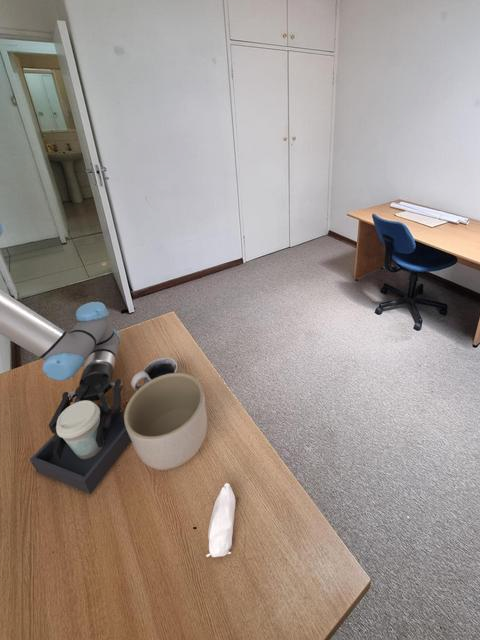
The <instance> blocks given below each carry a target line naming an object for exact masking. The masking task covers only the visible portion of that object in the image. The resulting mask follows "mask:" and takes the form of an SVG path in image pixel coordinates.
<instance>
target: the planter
mask: <svg viewBox="0 0 480 640" xmlns="http://www.w3.org/2000/svg"><path fill="white" fill-rule="evenodd" d="M142 385H143V384H142ZM206 405H207V404H206V398H205V392H204V388H203V385H202V383H201V382H200V380H198V378H196V377H195V376H193V375H191V374H188V373H184V372H178V373H170V374H165V375H162V376H159V377H157V378H155V379H153V380H151V381H149V382H147V383H146V384H145V385H143V386H142V387H141V388H140V389H138V390H137V391H136V390H135V392H134V393H133V395H132V396H131V397H130V399H129V400H128V402H127V404H126V406H125V409H124V423H125V426H126V429H127V432H128V434H129V436H130V439H131V443H132V445H133V448H134V450H135V452H136V454H137V456H138V457H139V459H140V460H141V462H142V463H144V464H145V465H146V466H147V467H149V468H151V469H153V470H158V471H166V470H167V471H169V470H173V469H176V468H178V467H181V466H183V465H184V464H187V462H189V461H190V460H191V459H193V457H194V456H195V455H196V454H197V453H198V452H199V450H200V449H201V447H202V446H203V443H204V442H205V439H206V435H207V432H208V411H207V406H206Z"/></svg>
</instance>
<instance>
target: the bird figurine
mask: <svg viewBox="0 0 480 640" xmlns="http://www.w3.org/2000/svg"><path fill="white" fill-rule="evenodd" d="M236 502H237V501H236V496H235V494H234V491H233V489H232V487H231V484H230V483H228V482H226V483H225V484H224V485H223V486H222V487H221V489H220V491H219V494H218V495H217V497H216V500H215V501H214V506H213V508H212V513H211V515H210V520H209V524H208V532H207V539H208V553H207V554H206V555H205V558H208V557H210V556H211V557H212V558H219V557H225V556H226V555H231V554H232V552H231V551H230V549H231V548H232V545H233V535H234V523H235V511H236Z"/></svg>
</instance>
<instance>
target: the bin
mask: <svg viewBox="0 0 480 640" xmlns="http://www.w3.org/2000/svg"><path fill="white" fill-rule="evenodd" d="M94 403H95V402H94ZM95 404H96V405H97V406H98V407H99V409H100V415H99V416H100V417H101V415H103V414H105V412H104V409H103V407H102V404H99V403H95ZM109 408H110V410H111V409H112V408H111V407H109ZM124 413H125V411H121V414H120V415H119V416H114V417H113V418H112V421H111V426H110V429H109V430H108V431H105V436H104V445H103V447H102V449H101V450H100V451H99V452H98V453H97V454H96V455H95V456H93V457H91V458H88V459H80V458H79V457H78V456H77V455H76V454H75V453H74V451H73V450H72V449H71V448H70V446H69V445H68V444H67V443H65V446H64V449H63V453H62V456H61V459H59V460H56V458H55V456H54V455H53V450H54V447H55V444H54V442H53V438H54V435H53V436H52V437H50V438H49V439H48V440H47V441H46V442H45V443H44V445H43V446H41V447H40V448H39V449H38V450H37V452H35V454H33V455H32V456H31V458H29V461H30V464H31V465H32V466H33V469H34V470H35V471H36V473H38V474H41V475H43V476H45V477H48V478H50V479H52V480H55V481H57V482H60V483H63V484H65V485H67V486H70V487H72V488H74V489H77V490H80V491H82V492H84V493H86V494H88V495H89V494H90V495H91V494H92V493H93V492H94V491H95V489H96V488H97V486H98V485H99V484H100V482H101V481H102V480H103V479H104V477H105V476H106V475H107V473H108V472H109V471H110V470H111V468H112V467H113V466H114V465H115V463H116V462H117V461H118V459H119V458H120V456H121V455H122V454H123V452H124V451H125V450H126V449H127V448H128V446H129V445H130V443H132V441H131V439H130V436H129V434H128V432H127V429H126V426H125V423H124Z"/></svg>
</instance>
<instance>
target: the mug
mask: <svg viewBox="0 0 480 640" xmlns="http://www.w3.org/2000/svg"><path fill="white" fill-rule="evenodd" d="M170 373H179V371H178V363H177V361H176V360H175V359H174V358H171V357H160V358H156V359H154V360H152V361H151V362H149V363H148V364H147V365H146V366H145V367H144V368H143V369H142V371H138V372H137V373H136V374H135V375H134V376H133V378H132V379H131V382H130V384H131V387H132V389H133V390H134V391H135V392H136V391H137V390H138V389H140V388H141V387H142V386H143V385H145V384H146V383H147V382H149V381H151V380H153V379H155V378H157V377H159V376H162V375H165V374H170ZM141 380H143V384H140V385H137V384H138V383H139V382H140V381H141Z"/></svg>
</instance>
